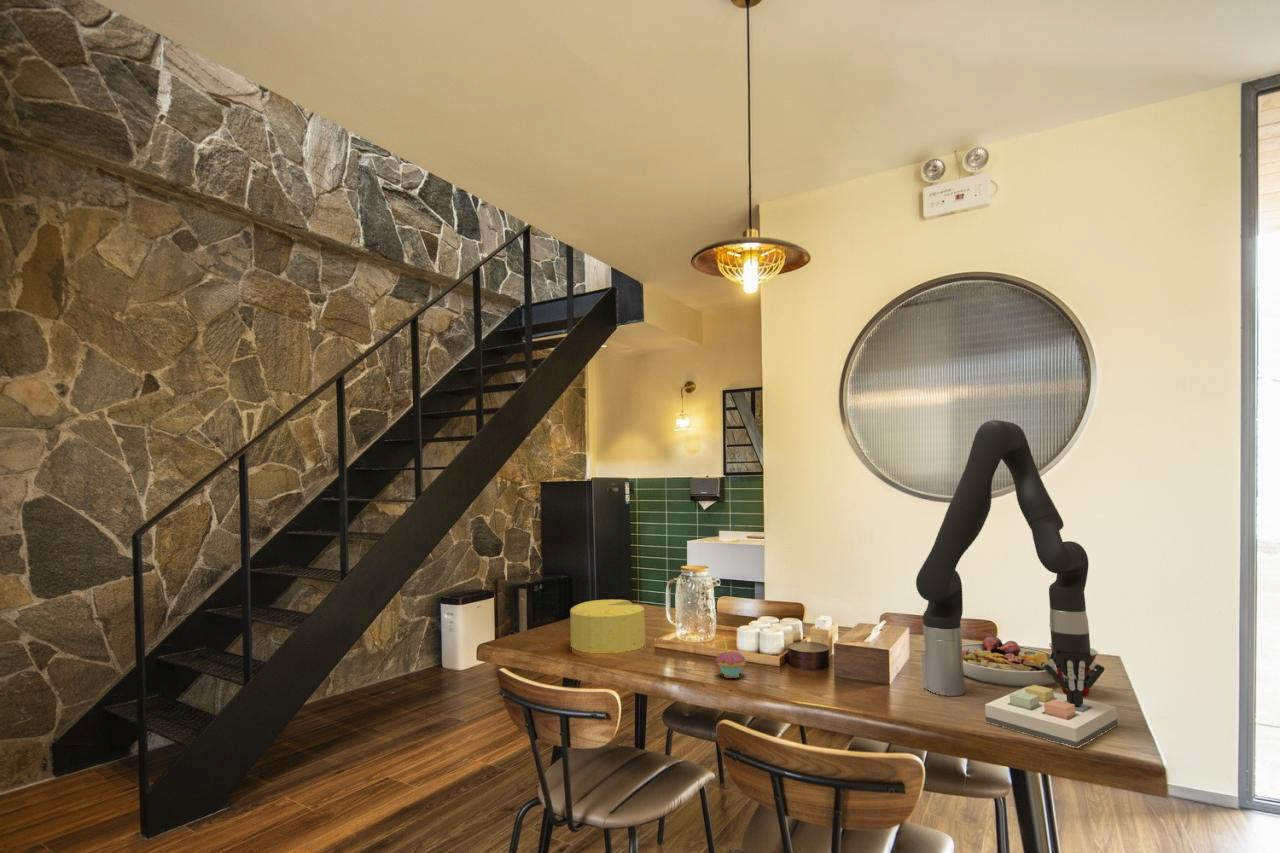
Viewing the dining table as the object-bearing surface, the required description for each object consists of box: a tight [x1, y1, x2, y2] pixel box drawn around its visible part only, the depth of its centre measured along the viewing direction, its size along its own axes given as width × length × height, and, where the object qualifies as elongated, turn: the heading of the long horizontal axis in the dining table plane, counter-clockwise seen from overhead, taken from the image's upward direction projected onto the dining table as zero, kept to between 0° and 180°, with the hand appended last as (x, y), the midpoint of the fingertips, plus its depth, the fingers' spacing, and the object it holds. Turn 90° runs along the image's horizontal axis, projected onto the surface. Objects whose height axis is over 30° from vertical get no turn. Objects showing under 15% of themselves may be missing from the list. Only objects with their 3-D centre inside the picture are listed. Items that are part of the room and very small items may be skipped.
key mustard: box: [1024, 685, 1055, 703], centre depth 156 cm, size 4×4×2 cm
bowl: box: [962, 635, 1058, 688], centre depth 190 cm, size 30×30×8 cm
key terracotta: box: [1044, 699, 1076, 720], centre depth 146 cm, size 4×4×2 cm
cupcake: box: [715, 634, 747, 676], centre depth 193 cm, size 9×8×12 cm
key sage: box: [1010, 690, 1039, 710], centre depth 152 cm, size 4×4×2 cm
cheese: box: [569, 599, 646, 653], centre depth 229 cm, size 26×26×15 cm
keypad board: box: [984, 686, 1118, 747], centre depth 151 cm, size 19×21×4 cm
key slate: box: [1066, 702, 1090, 712], centre depth 150 cm, size 4×4×2 cm
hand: (1075, 705), depth 150 cm, fingers closed
